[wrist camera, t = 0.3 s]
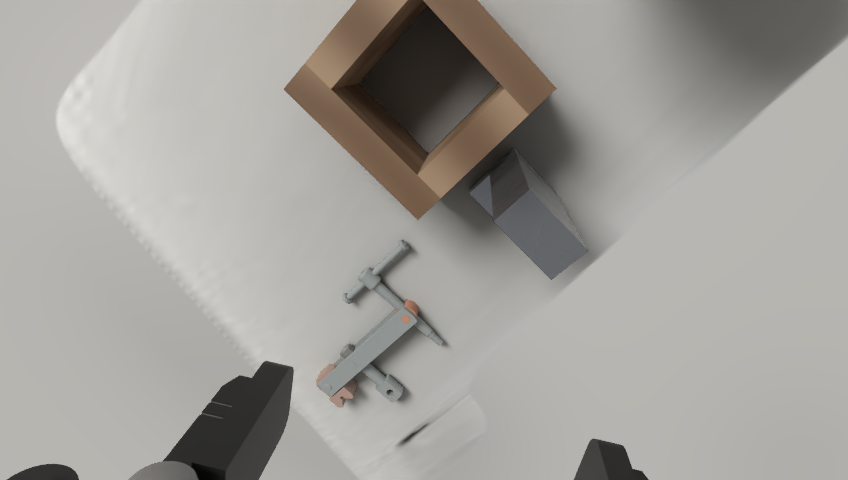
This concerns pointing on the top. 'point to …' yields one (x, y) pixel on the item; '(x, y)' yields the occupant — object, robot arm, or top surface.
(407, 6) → the well block
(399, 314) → the clamp
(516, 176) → the grey upright bar
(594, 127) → the top surface
